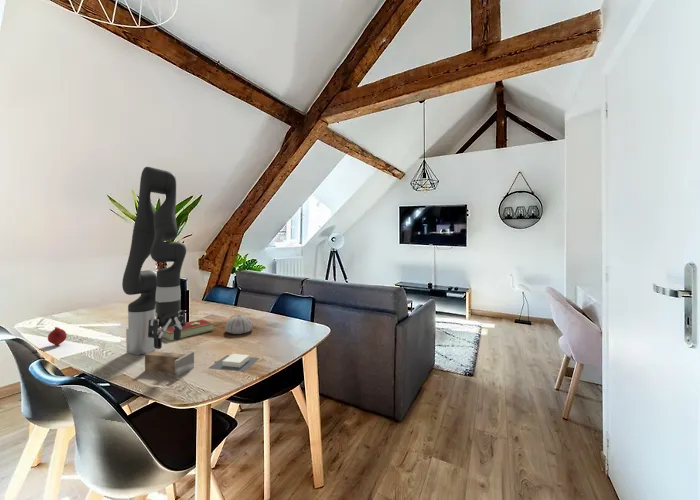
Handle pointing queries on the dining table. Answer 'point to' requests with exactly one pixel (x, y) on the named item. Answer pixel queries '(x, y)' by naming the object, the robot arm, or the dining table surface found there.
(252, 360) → the mat
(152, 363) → the wooden post on base
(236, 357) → the tile
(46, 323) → the dining table surface
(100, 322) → the dining table surface
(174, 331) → the robot arm
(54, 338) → the onion
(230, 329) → the sea urchin shell
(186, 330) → the hardcover book
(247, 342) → the dining table surface
